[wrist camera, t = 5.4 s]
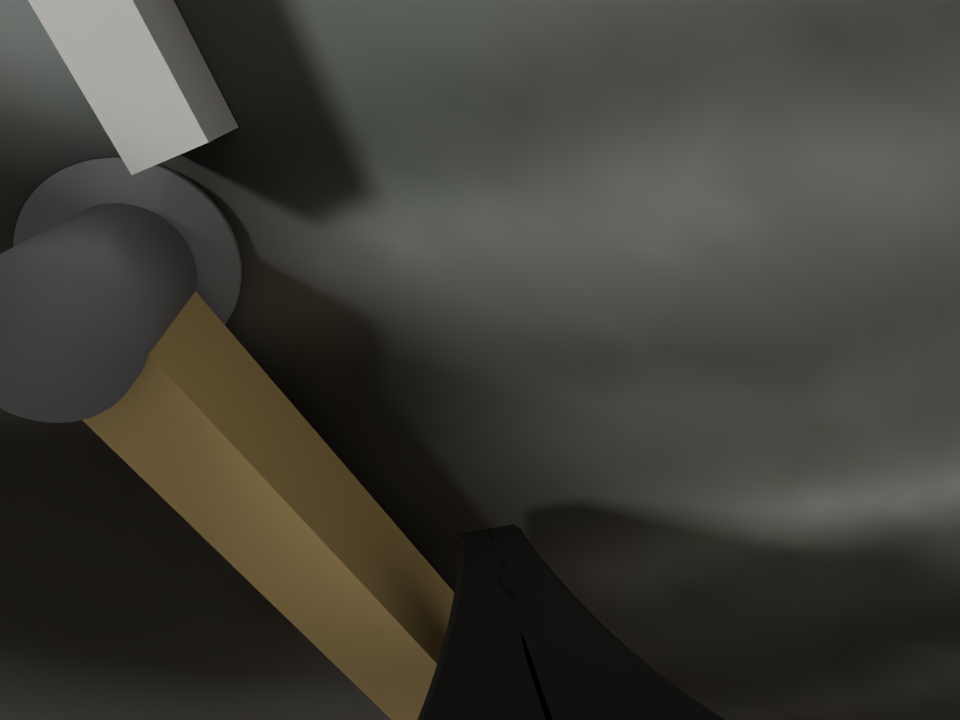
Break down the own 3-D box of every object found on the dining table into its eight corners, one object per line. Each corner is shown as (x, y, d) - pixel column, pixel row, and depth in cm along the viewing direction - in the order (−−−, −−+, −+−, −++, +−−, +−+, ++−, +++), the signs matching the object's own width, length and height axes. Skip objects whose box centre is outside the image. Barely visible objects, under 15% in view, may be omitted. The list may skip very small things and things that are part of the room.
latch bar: (22, 252, 10) (-103, 320, 8) (132, 176, 10) (45, 217, 7) (571, 828, 17) (611, 973, 14) (643, 788, 17) (696, 928, 14)
